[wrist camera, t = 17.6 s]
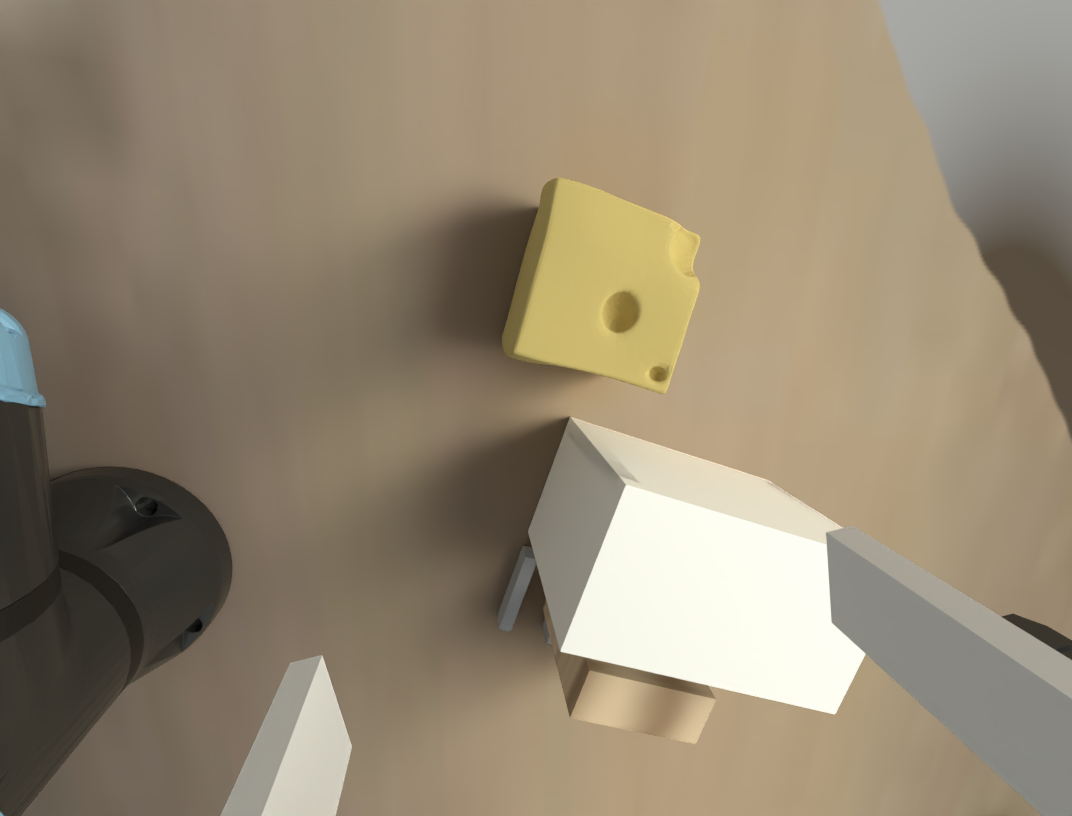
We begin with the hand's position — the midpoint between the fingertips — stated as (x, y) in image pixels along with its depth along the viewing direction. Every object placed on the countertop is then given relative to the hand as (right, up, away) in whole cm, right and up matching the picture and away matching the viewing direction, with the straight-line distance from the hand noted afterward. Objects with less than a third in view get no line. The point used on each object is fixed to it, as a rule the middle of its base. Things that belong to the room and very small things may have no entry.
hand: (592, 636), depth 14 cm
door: (+4, -11, +33) cm, 35 cm away
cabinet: (+7, -6, +32) cm, 33 cm away
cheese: (+2, +14, +27) cm, 31 cm away
